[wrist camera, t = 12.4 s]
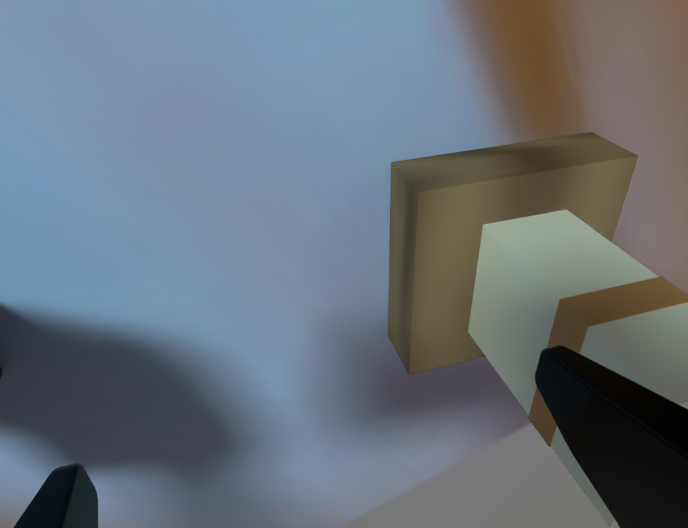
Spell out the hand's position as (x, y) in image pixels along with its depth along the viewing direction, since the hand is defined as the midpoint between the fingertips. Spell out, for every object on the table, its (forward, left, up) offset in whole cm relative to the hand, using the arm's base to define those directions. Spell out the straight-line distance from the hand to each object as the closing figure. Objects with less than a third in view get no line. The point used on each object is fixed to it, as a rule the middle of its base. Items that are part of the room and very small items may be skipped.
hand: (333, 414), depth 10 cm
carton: (+11, -6, -10) cm, 16 cm away
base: (+11, -6, -13) cm, 18 cm away
